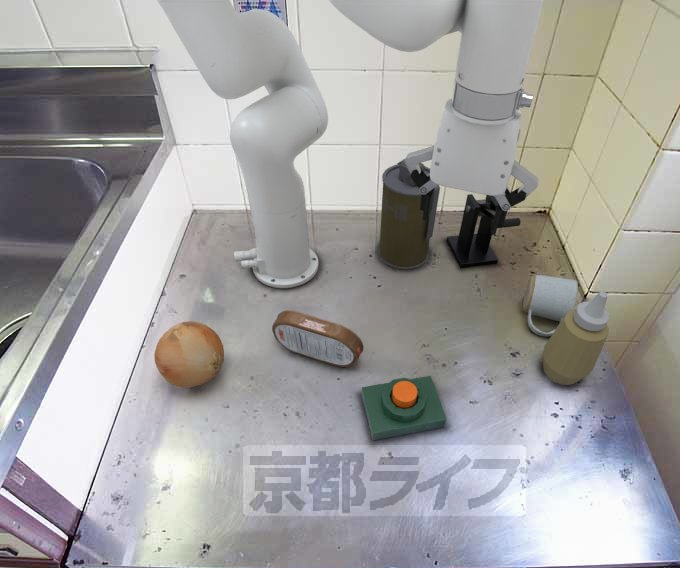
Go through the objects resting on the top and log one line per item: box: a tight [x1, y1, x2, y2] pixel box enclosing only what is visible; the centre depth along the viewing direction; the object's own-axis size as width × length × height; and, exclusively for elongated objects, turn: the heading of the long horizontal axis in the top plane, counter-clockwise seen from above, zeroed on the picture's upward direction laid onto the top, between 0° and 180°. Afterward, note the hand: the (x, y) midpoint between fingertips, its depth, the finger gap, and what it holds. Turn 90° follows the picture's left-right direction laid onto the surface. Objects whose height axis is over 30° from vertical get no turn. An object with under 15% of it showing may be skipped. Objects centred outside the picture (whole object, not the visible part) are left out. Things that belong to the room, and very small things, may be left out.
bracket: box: [445, 193, 499, 269], centre depth 94 cm, size 9×8×13 cm
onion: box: [153, 320, 225, 388], centre depth 71 cm, size 10×10×10 cm
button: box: [392, 381, 417, 408], centre depth 69 cm, size 4×4×2 cm
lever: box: [476, 198, 522, 229], centre depth 86 cm, size 12×5×2 cm, turn 14°
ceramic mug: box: [522, 274, 579, 337], centre depth 84 cm, size 11×8×8 cm
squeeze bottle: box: [542, 291, 610, 386], centre depth 72 cm, size 8×8×18 cm
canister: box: [377, 158, 441, 270], centre depth 90 cm, size 11×10×20 cm
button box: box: [361, 375, 447, 441], centre depth 70 cm, size 11×8×4 cm
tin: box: [271, 309, 364, 368], centre depth 75 cm, size 15×3×8 cm, turn 71°
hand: (460, 221), depth 67 cm, fingers open, 9 cm apart
